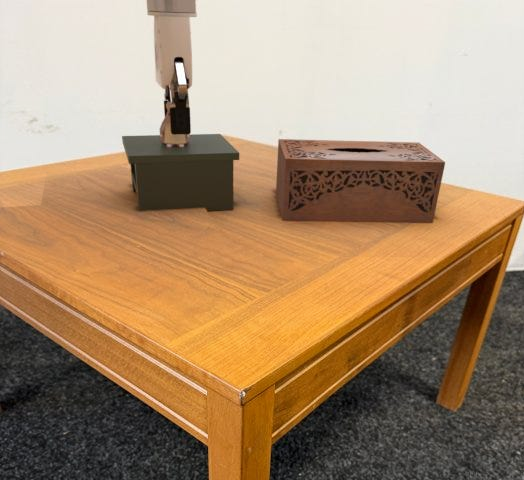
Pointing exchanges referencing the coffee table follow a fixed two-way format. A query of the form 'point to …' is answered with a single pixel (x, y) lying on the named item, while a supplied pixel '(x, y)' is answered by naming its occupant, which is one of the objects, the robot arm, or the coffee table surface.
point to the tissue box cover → (357, 181)
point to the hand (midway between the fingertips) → (177, 128)
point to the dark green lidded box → (182, 172)
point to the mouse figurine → (166, 133)
